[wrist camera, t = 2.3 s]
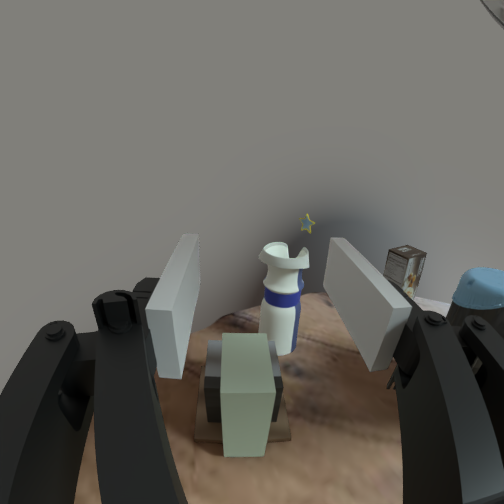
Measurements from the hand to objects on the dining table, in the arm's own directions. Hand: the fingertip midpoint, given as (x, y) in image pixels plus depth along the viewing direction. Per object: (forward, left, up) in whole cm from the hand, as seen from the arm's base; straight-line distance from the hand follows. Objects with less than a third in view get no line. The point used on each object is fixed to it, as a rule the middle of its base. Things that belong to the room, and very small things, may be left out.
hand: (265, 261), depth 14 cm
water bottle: (-25, -18, -30) cm, 43 cm away
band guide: (-9, -11, -30) cm, 33 cm away
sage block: (-5, -6, -29) cm, 30 cm away
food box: (-55, -5, -30) cm, 63 cm away
